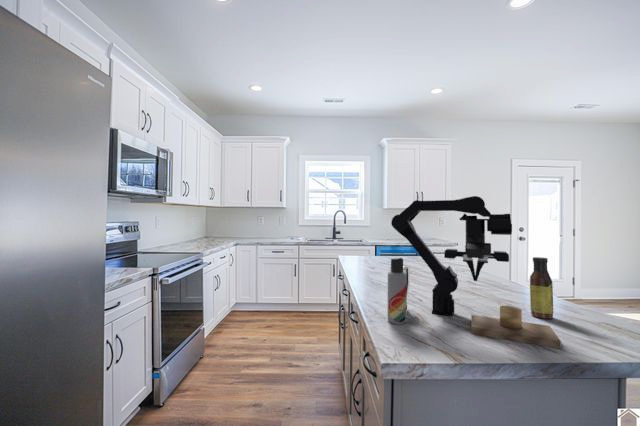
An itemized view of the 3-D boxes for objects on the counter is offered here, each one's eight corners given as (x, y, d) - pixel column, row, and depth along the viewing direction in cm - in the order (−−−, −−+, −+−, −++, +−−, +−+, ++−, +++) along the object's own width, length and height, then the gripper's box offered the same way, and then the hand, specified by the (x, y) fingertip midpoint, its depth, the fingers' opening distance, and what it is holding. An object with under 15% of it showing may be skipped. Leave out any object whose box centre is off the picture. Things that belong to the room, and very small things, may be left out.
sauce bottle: (557, 320, 96) (557, 259, 96) (536, 319, 97) (535, 258, 98) (546, 314, 102) (546, 256, 103) (526, 312, 103) (526, 256, 104)
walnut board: (471, 333, 83) (471, 326, 84) (471, 321, 94) (471, 314, 94) (560, 348, 74) (560, 340, 74) (549, 332, 85) (549, 325, 85)
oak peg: (500, 333, 83) (500, 309, 83) (499, 327, 88) (499, 304, 88) (523, 337, 81) (523, 312, 81) (520, 331, 85) (520, 307, 86)
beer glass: (411, 308, 107) (411, 267, 107) (406, 313, 101) (406, 269, 101) (393, 305, 110) (393, 265, 111) (386, 310, 104) (386, 267, 105)
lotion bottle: (403, 325, 89) (403, 259, 90) (384, 322, 92) (385, 257, 93) (408, 320, 94) (408, 257, 95) (390, 317, 97) (391, 256, 98)
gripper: (442, 234, 96) (442, 282, 95) (510, 235, 87) (511, 289, 87) (445, 233, 106) (445, 276, 105) (507, 234, 97) (507, 282, 97)
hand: (475, 280), depth 98 cm, fingers closed
